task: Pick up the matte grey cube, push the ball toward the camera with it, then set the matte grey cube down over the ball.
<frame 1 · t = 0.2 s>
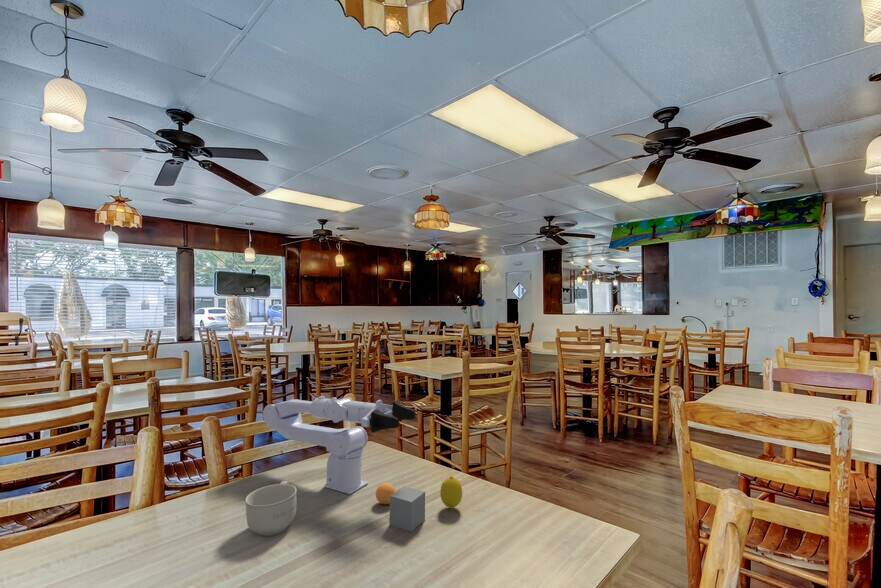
hand: (406, 418, 105), 22 cm above the table, tool horizontal, fingers open, 7 cm apart
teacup: (274, 525, 93), on the table
lemon: (451, 509, 102), on the table
ball: (385, 493, 104), on the table
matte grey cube: (407, 522, 95), on the table
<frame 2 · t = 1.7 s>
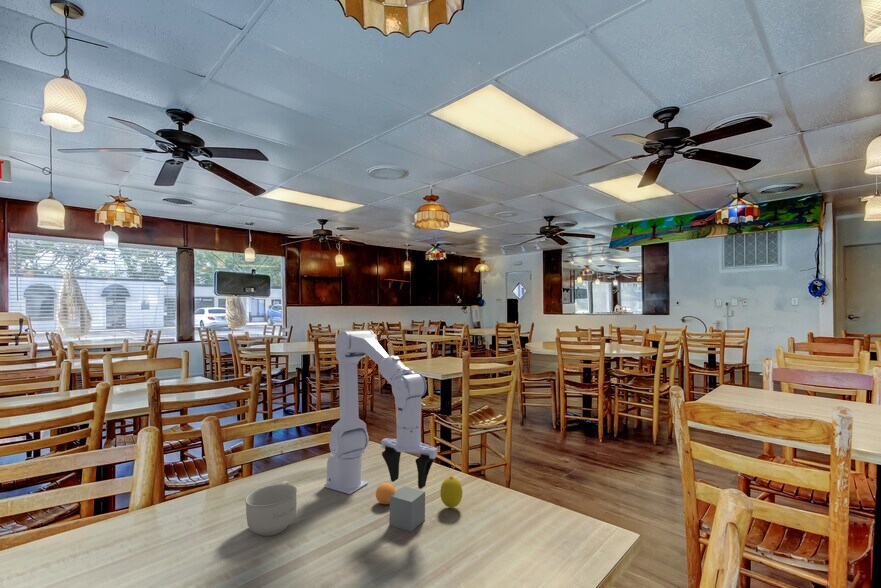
hand: (408, 483, 95), 9 cm above the table, tool pointing down, fingers open, 7 cm apart
nothing on the table moved.
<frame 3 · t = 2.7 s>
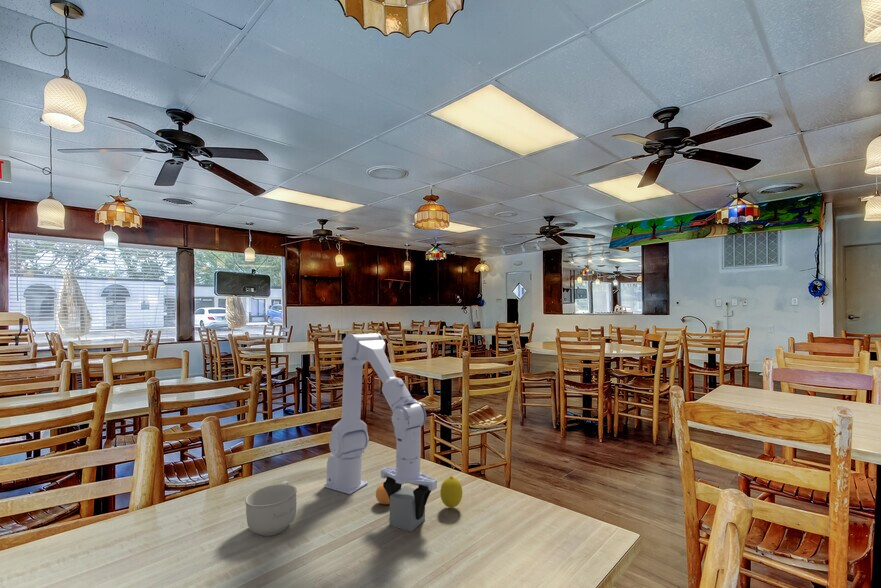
hand: (407, 514, 95), 2 cm above the table, tool pointing down, fingers closed on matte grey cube, 6 cm apart
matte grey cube: (407, 522, 95), on the table, touching gripper
everything else where it was.
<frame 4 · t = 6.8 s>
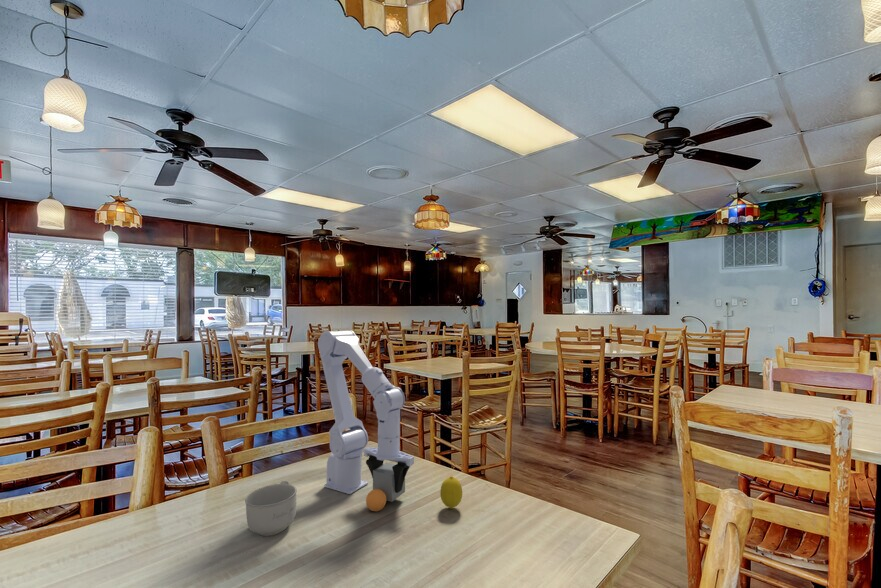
hand: (387, 488, 105), 3 cm above the table, tool pointing down, fingers closed on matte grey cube, 6 cm apart
ball: (376, 500, 101), on the table
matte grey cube: (389, 494, 106), point 2 cm above the table, touching gripper
everything else where it was.
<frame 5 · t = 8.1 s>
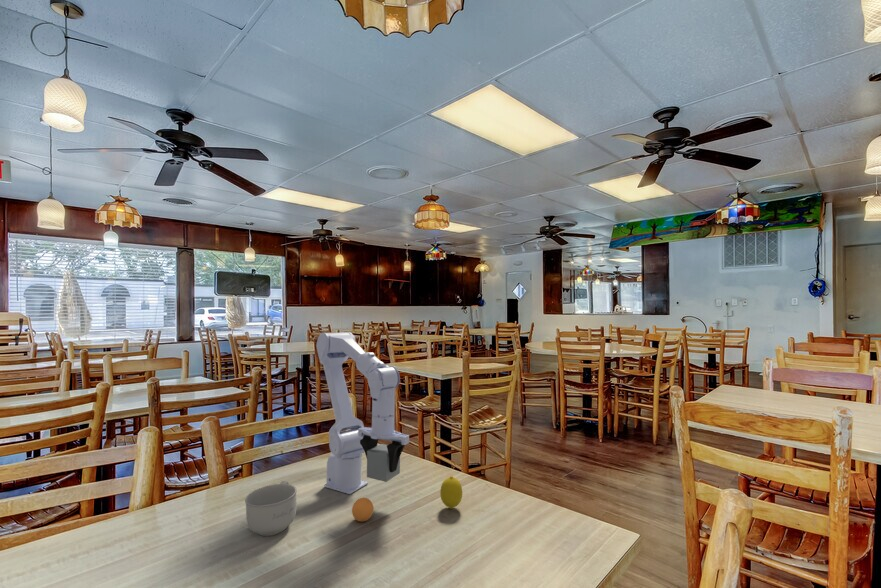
hand: (382, 468, 103), 9 cm above the table, tool pointing down, fingers closed on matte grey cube, 6 cm apart
ball: (362, 509, 96), on the table
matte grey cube: (383, 475, 104), point 8 cm above the table, touching gripper
everything else where it was.
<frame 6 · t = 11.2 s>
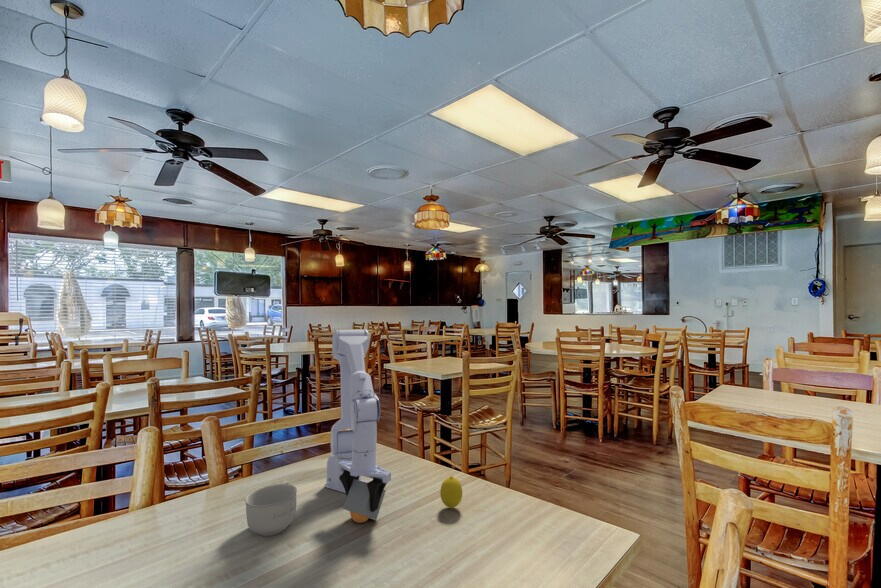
hand: (363, 506, 96), 3 cm above the table, tool pointing down, fingers closed on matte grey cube, 6 cm apart
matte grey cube: (359, 514, 95), point 2 cm above the table, tilted 34°, touching gripper
when the fingers open (2 cm above the table, at t = 12.0 s): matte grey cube drops 2 cm, on the table.
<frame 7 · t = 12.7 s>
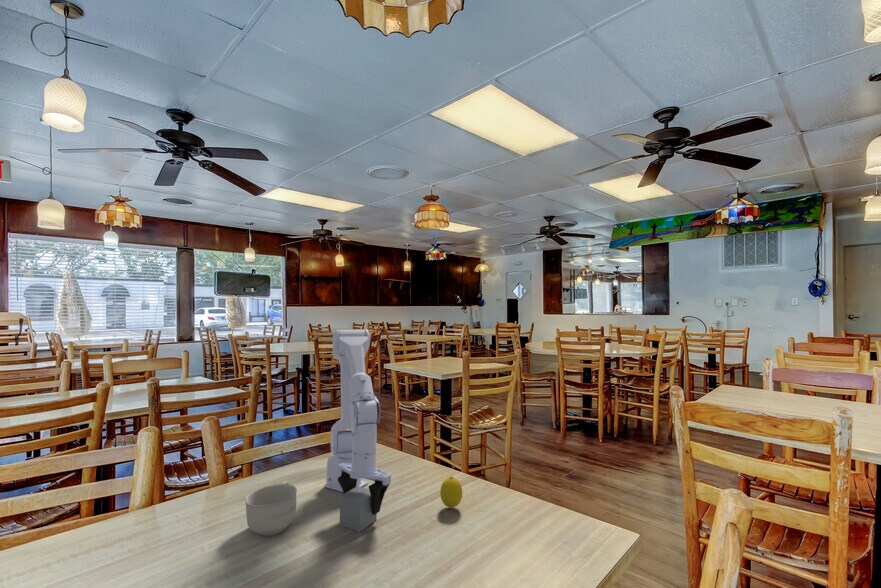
hand: (363, 508, 96), 2 cm above the table, tool pointing down, fingers open, 7 cm apart
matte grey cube: (358, 522, 95), on the table
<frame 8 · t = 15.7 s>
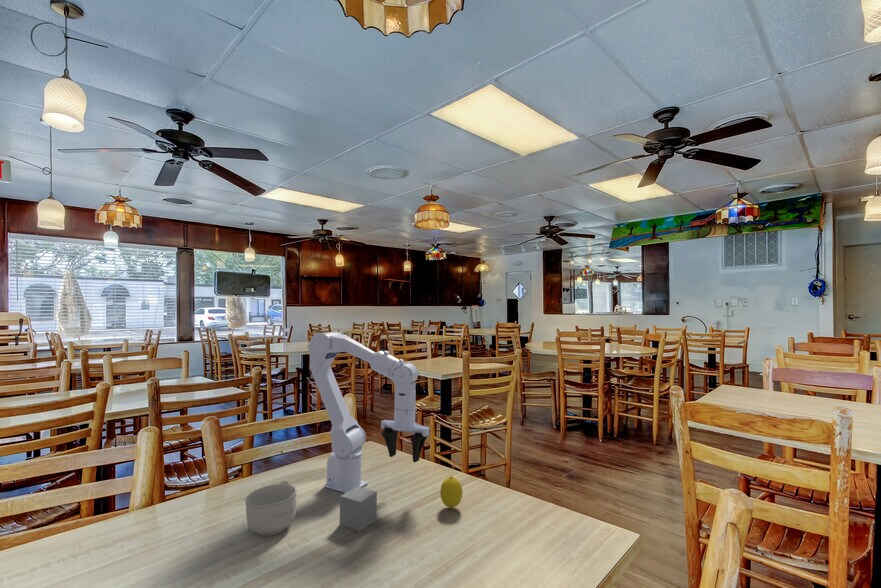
hand: (404, 458, 110), 9 cm above the table, tool pointing down, fingers open, 7 cm apart
nothing on the table moved.
at the end: ball 0.4 cm from the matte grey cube (horizontally); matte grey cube on the table; ball moved 10.5 cm from its start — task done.
